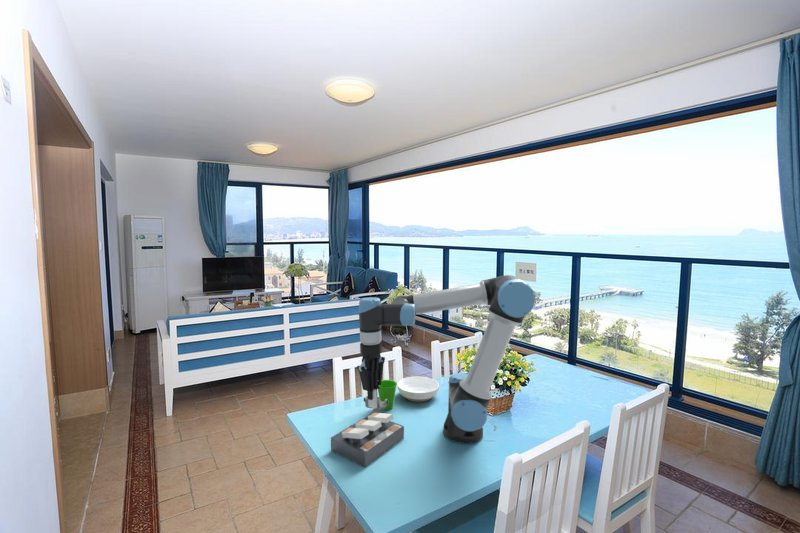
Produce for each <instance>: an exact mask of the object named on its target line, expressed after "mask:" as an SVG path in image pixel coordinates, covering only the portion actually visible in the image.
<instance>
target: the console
mask: <svg viewBox="0 0 800 533" xmlns="http://www.w3.org/2000/svg"><path fill="white" fill-rule="evenodd" d="M371 414H372V413H370V414H368V415H367V416H365V417H363V418H362V419H359V420H358V421H356V422H355V423H352V425H349V426H348V427H346V428H344V429H343V430H342V431H341V430H340V431H339V432H337V434H334V435H333V436H331V437H330V452H332V453H335V454H336V455H338V456H341V457H342V458H345V459H347V460H349V461H350V462H353V463H354V464H357V465H359V466H361V467H363V468H366V467H368V466H369V465H371V464H372V463H373V462H374V461H376V460H377V459H379V458H380V457H381V456H383V455H384V454H385V453H387V452H388V451H389V450H391V449H393V447H395V446H396V445H398V444H399V443H400V442H401V441H403V440H404V438H405V437H404V436H405V426H404V425H402V424H399V423H396V422H395V421H392V420H391V421H389V422H388V423H381V425H382V427H380V428H378V429H377V430H375V431H370V430H368V432H369V434H368V435H367V436H365V437H364V438H362V439H354V438H343V436H342V432H343V431H345V430H347V429H348V428H356V425H355V424H356V423H358V422H359V421H361V420H368V416H369V415H371Z"/></svg>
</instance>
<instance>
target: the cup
mask: <svg viewBox="0 0 800 533" xmlns="http://www.w3.org/2000/svg"><path fill="white" fill-rule="evenodd" d="M397 384H398V382H397V381H396V380H392V379H382V382H381V385H379V387H380V388H379V389H377V393H378V397H379V398H380V400H381V401H382V402H384V401H385V399H387V400H389V404H387V406H386V408H385V409H382V410H383V411H391V410H392V409H393V406H394V402H395V395H396V390H397V387H398V386H397ZM382 406H385V405H382Z"/></svg>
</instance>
